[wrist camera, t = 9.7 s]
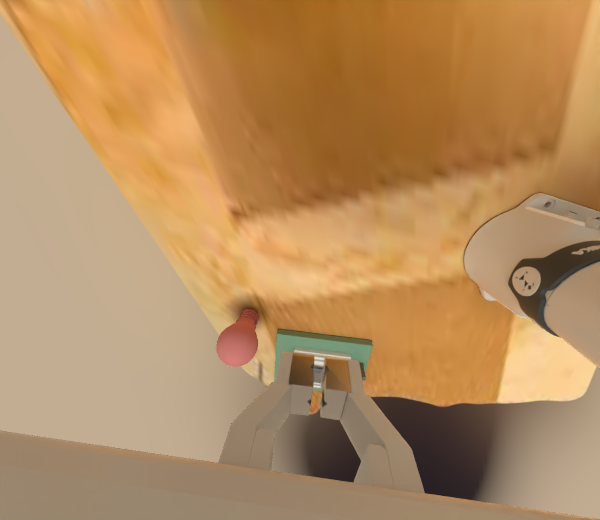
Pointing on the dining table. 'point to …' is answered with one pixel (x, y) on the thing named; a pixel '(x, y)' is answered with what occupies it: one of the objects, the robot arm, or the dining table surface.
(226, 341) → the light bulb
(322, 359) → the heat sink board
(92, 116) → the dining table surface
